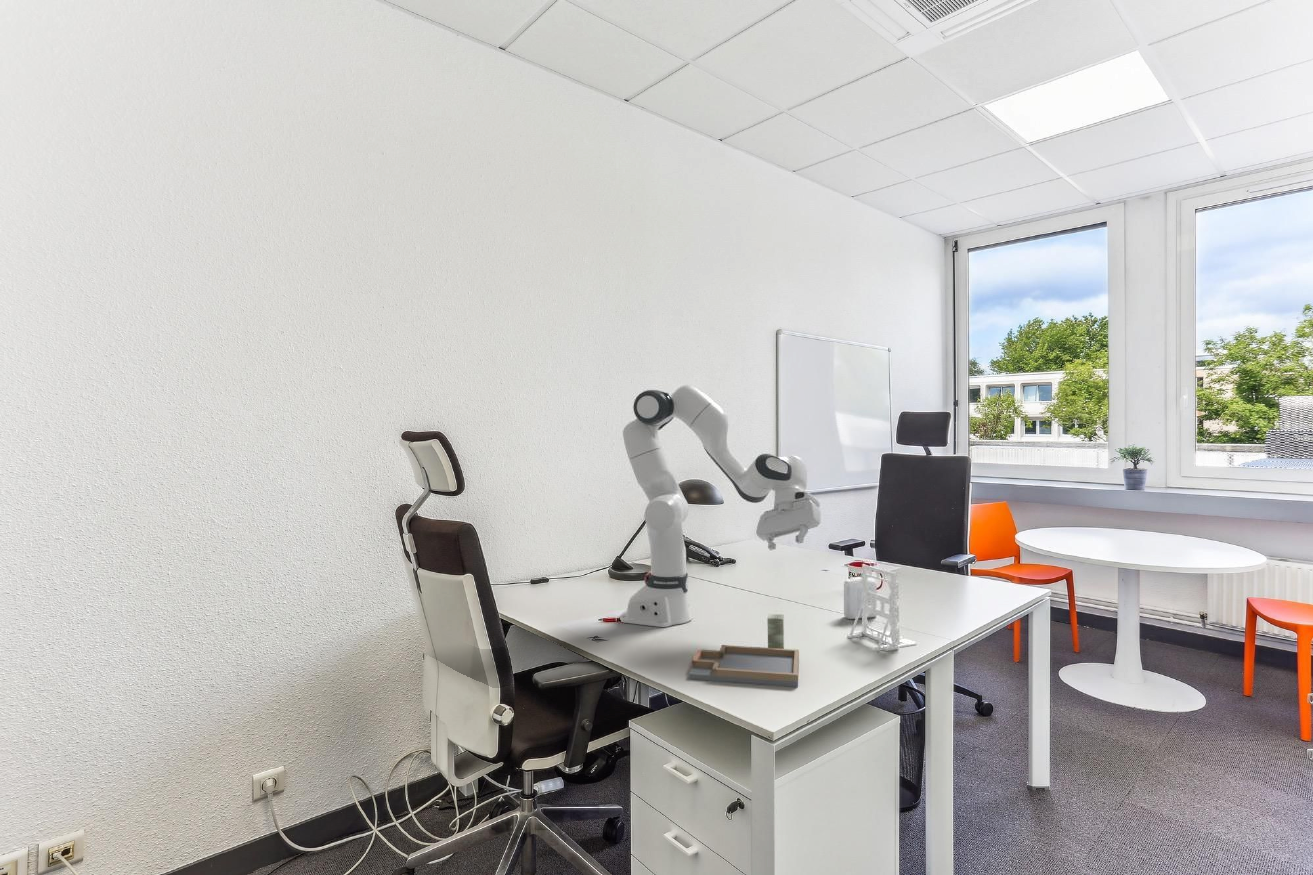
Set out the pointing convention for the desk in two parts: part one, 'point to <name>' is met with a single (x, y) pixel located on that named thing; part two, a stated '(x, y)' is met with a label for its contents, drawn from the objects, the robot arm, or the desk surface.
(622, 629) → the desk surface
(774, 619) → the green peg
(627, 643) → the desk surface
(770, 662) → the keyhole dock
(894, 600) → the white perforated frame
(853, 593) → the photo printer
